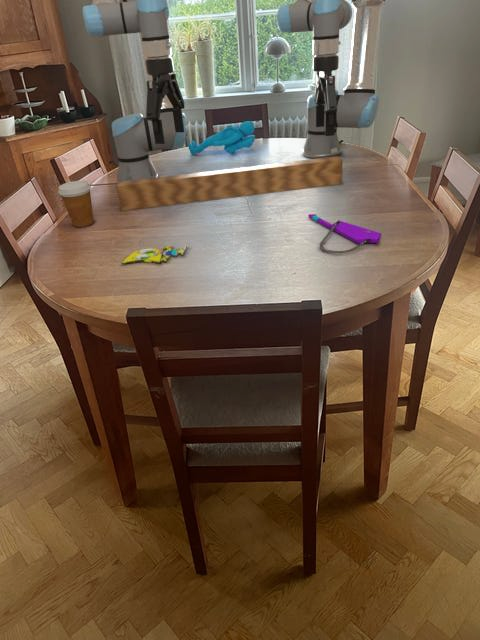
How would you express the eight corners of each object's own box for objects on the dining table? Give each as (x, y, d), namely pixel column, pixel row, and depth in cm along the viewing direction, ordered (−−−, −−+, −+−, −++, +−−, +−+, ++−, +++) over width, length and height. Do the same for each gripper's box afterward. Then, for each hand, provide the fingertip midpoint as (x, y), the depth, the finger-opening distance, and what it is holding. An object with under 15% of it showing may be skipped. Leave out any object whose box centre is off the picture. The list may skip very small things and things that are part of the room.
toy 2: (193, 134, 218) (255, 115, 207) (201, 157, 223) (262, 139, 212) (182, 144, 204) (248, 123, 194) (191, 168, 209) (255, 149, 199)
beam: (121, 210, 157) (116, 186, 153) (122, 206, 161) (117, 182, 157) (341, 183, 163) (342, 159, 158) (337, 180, 166) (338, 156, 162)
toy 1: (178, 260, 119) (121, 261, 122) (179, 264, 120) (122, 264, 122) (187, 243, 128) (133, 244, 130) (187, 246, 128) (134, 247, 131)
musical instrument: (364, 263, 114) (392, 222, 127) (364, 255, 113) (391, 215, 125) (276, 252, 127) (309, 216, 139) (275, 245, 126) (308, 210, 138)
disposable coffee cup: (61, 227, 148) (50, 189, 141) (80, 216, 155) (71, 179, 149) (86, 230, 145) (76, 191, 138) (105, 218, 152) (96, 180, 145)
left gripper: (149, 63, 122) (163, 149, 133) (189, 51, 141) (198, 127, 153) (123, 64, 124) (139, 148, 136) (166, 53, 143) (176, 127, 155)
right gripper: (349, 57, 131) (346, 138, 143) (328, 51, 152) (327, 122, 164) (322, 60, 131) (321, 140, 143) (304, 53, 152) (305, 124, 163)
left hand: (170, 137), depth 144 cm, fingers open, 13 cm apart
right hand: (324, 131), depth 153 cm, fingers open, 13 cm apart
